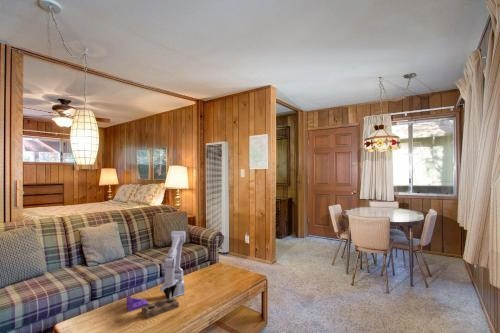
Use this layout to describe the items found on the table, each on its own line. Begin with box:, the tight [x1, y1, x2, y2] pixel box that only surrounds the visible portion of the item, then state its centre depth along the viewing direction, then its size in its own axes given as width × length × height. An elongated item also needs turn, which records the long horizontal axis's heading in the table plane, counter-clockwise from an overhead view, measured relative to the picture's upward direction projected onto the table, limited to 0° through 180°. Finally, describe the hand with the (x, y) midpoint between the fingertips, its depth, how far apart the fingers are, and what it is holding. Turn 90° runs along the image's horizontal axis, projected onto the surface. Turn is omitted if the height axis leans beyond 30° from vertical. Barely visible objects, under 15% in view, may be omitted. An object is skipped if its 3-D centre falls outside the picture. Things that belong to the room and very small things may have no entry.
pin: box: [168, 290, 172, 303], centre depth 169 cm, size 3×3×8 cm
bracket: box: [125, 295, 150, 313], centre depth 168 cm, size 12×7×7 cm, turn 129°
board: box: [141, 297, 180, 320], centre depth 165 cm, size 20×10×3 cm, turn 132°
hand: (169, 297), depth 169 cm, fingers closed on pin, 3 cm apart
